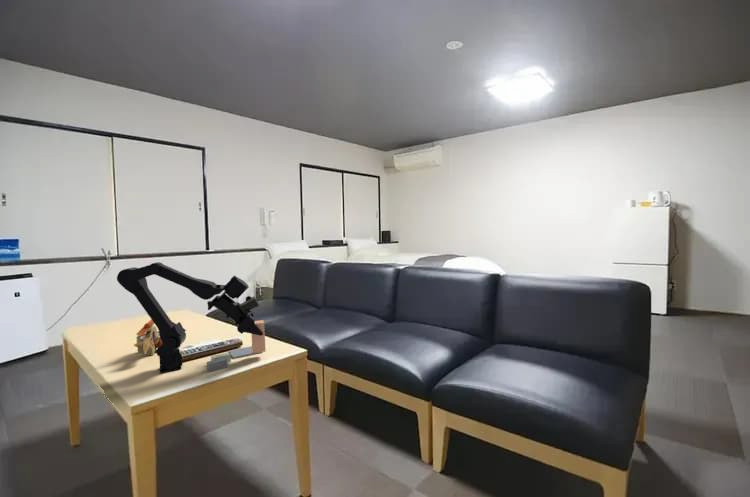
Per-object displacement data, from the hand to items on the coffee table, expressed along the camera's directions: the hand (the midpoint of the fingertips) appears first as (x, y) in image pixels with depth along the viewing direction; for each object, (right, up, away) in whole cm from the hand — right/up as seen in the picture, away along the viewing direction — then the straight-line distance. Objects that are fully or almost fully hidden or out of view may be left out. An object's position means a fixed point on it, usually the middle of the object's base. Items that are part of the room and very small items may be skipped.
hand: (261, 332), depth 135 cm
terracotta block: (-1, -7, 0) cm, 7 cm away
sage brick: (-14, -10, -4) cm, 18 cm away
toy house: (-46, -11, +6) cm, 48 cm away
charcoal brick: (-13, -10, -10) cm, 19 cm away
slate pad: (-8, -9, +6) cm, 14 cm away
